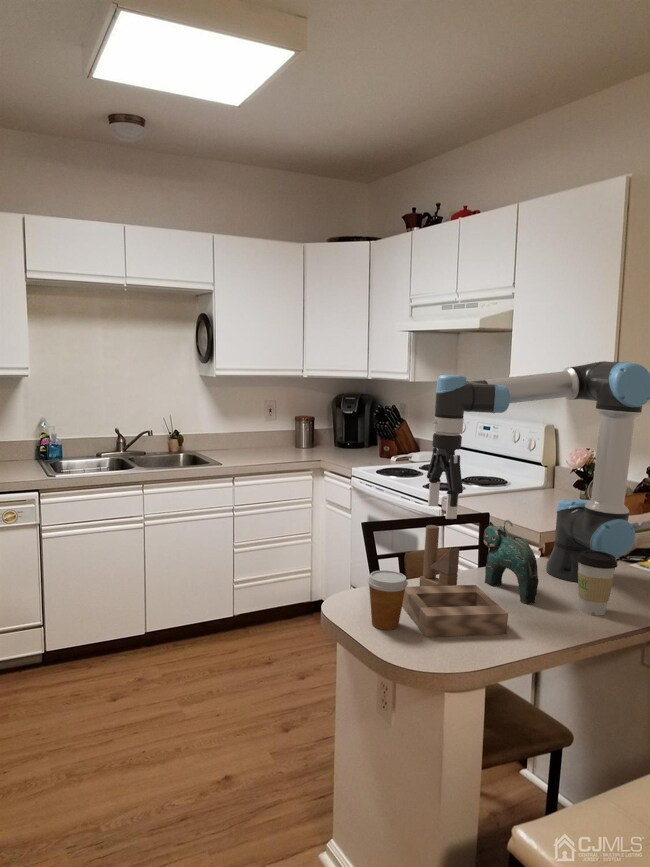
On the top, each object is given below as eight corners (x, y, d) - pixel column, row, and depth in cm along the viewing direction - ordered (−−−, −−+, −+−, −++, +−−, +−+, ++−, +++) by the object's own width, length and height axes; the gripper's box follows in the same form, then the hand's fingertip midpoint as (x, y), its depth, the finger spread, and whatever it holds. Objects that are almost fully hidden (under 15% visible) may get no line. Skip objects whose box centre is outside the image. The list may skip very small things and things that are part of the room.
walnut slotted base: (474, 603, 174) (475, 584, 173) (506, 633, 155) (508, 613, 155) (401, 605, 170) (402, 586, 170) (425, 636, 152) (426, 616, 151)
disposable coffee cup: (358, 619, 160) (360, 571, 159) (392, 614, 164) (395, 568, 162) (376, 635, 151) (379, 585, 150) (412, 630, 155) (415, 581, 154)
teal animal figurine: (478, 581, 192) (482, 513, 189) (496, 579, 194) (501, 512, 192) (523, 606, 173) (529, 532, 171) (542, 603, 176) (549, 530, 174)
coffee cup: (582, 601, 179) (587, 547, 177) (618, 612, 172) (624, 556, 170) (565, 609, 172) (570, 554, 170) (603, 621, 165) (608, 563, 163)
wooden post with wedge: (446, 601, 174) (451, 535, 172) (418, 588, 183) (422, 525, 181) (456, 599, 177) (461, 533, 174) (428, 586, 185) (432, 523, 183)
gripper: (418, 427, 186) (413, 501, 189) (451, 439, 162) (445, 524, 164) (444, 428, 187) (438, 501, 190) (480, 440, 163) (473, 524, 166)
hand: (441, 512), depth 177 cm, fingers open, 13 cm apart
